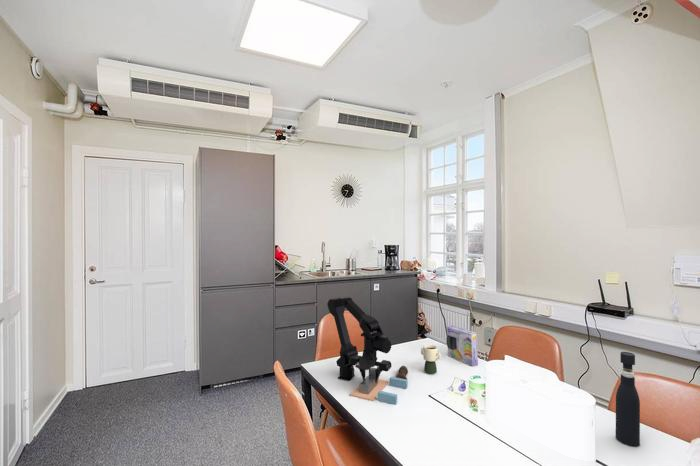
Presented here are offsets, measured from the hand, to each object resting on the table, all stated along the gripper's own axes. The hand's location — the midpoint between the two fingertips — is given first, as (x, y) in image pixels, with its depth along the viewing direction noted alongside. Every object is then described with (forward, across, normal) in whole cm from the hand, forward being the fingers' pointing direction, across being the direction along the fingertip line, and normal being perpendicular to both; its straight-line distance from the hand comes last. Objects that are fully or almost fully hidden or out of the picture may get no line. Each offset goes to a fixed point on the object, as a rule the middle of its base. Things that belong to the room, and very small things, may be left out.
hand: (370, 381), depth 152 cm
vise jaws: (+3, +11, 0) cm, 11 cm away
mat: (+3, 0, 0) cm, 3 cm away
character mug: (+4, +21, +30) cm, 37 cm away
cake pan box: (+4, +33, +54) cm, 63 cm away
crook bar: (+3, 0, -1) cm, 3 cm away
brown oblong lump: (+4, +10, +18) cm, 21 cm away
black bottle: (+3, +94, +3) cm, 94 cm away
